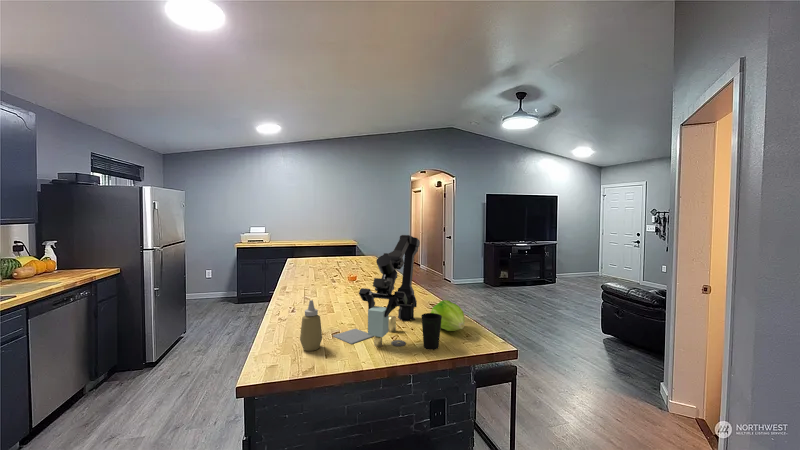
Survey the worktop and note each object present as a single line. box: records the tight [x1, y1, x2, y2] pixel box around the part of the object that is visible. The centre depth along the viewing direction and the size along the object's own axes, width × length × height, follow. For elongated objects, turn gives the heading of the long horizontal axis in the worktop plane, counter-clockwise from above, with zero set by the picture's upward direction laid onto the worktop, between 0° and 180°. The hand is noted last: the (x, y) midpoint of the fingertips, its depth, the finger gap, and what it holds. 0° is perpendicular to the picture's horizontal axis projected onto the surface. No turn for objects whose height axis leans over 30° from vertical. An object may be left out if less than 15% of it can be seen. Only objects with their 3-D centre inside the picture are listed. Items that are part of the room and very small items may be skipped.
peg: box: [388, 315, 397, 333], centre depth 148 cm, size 3×3×6 cm
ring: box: [390, 339, 407, 347], centre depth 134 cm, size 6×6×1 cm
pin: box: [373, 336, 383, 348], centre depth 131 cm, size 3×3×4 cm
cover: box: [367, 305, 390, 338], centre depth 131 cm, size 6×6×10 cm
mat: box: [332, 328, 374, 345], centre depth 141 cm, size 12×12×1 cm
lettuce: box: [430, 299, 465, 332], centre depth 148 cm, size 14×20×12 cm
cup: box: [420, 312, 442, 351], centre depth 130 cm, size 8×8×12 cm
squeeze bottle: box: [299, 299, 323, 352], centre depth 128 cm, size 8×8×18 cm
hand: (377, 316), depth 130 cm, fingers closed on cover, 6 cm apart
